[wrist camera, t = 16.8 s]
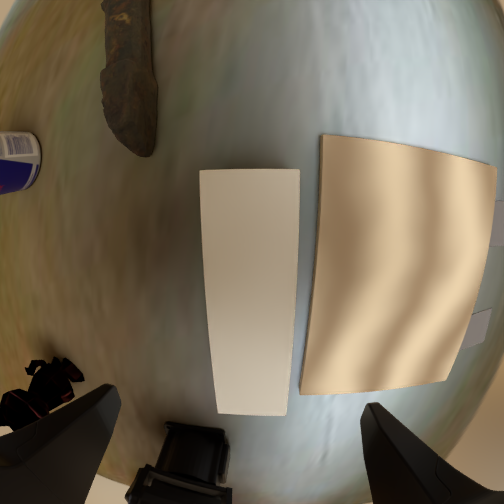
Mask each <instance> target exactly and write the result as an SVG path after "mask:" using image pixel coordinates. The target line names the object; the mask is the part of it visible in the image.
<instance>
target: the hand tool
mask: <svg viewBox="0 0 504 504" xmlns="http://www.w3.org/2000/svg"><path fill="white" fill-rule="evenodd" d="M149 4H150V2H149V0H104V1H103V2H102V3H101V7H102V10H103V11H104V12H105V49H106V68H105V69H103V70H102V71H101V73H100V81H101V90H102V94H103V99H102V104H103V107H104V109H103V111H104V115H105V118H106V121H107V123H108V126H109V128H110V129H111V130H112V132H113V133H114V134H115V137H116V138H117V139H118V140H119V141H120V142H121V143H122V144H123V145H124V146H126V147H127V148H128V149H129V150H130V151H132V152H133V153H135V154H136V155H138V156H140V157H149V156H150V155H151V153H152V152H153V151H152V150H153V147H154V141H155V131H156V120H157V109H156V107H157V91H158V86H157V82H156V80H155V78H154V76H153V72H152V63H151V41H150V33H151V25H150V20H149Z"/></svg>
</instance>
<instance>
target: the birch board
mask: <svg viewBox="0 0 504 504" xmlns="http://www.w3.org/2000/svg"><path fill="white" fill-rule="evenodd" d="M496 179H497V167H493V166H490V165H487V164H483V163H480V162H477V161H473V160H469V159H466V158H462V157H458V156H454V155H450V154H446V153H441V152H437V151H432V150H428V149H423V148H418V147H412V146H407V145H402V144H396V143H390V142H383V141H376V140H369V139H362V138H353V137H345V136H335V135H322V136H320V176H319V199H318V218H317V233H316V247H315V260H314V271H313V282H312V292H311V302H310V311H309V319H308V328H307V336H306V343H305V351H304V358H303V365H302V371H301V378H300V384H299V392H300V395H327V394H346V393H360V392H371V391H380V390H389V389H397V388H404V387H410V386H417V385H423V384H428V383H434V382H439V381H444V380H446V379H447V377H448V374H449V372H450V370H451V368H452V365H453V363H454V361H455V358H456V356H457V354H458V351H459V349H460V346H461V344H462V341H463V338H464V336H465V333H466V330H467V327H468V324H469V321H470V318H471V315H472V312H473V309H474V306H475V302H476V299H477V295H478V292H479V288H480V284H481V280H482V276H483V272H484V268H485V263H486V258H487V253H488V248H489V242H490V236H491V230H492V223H493V215H494V206H495V195H496Z"/></svg>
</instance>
